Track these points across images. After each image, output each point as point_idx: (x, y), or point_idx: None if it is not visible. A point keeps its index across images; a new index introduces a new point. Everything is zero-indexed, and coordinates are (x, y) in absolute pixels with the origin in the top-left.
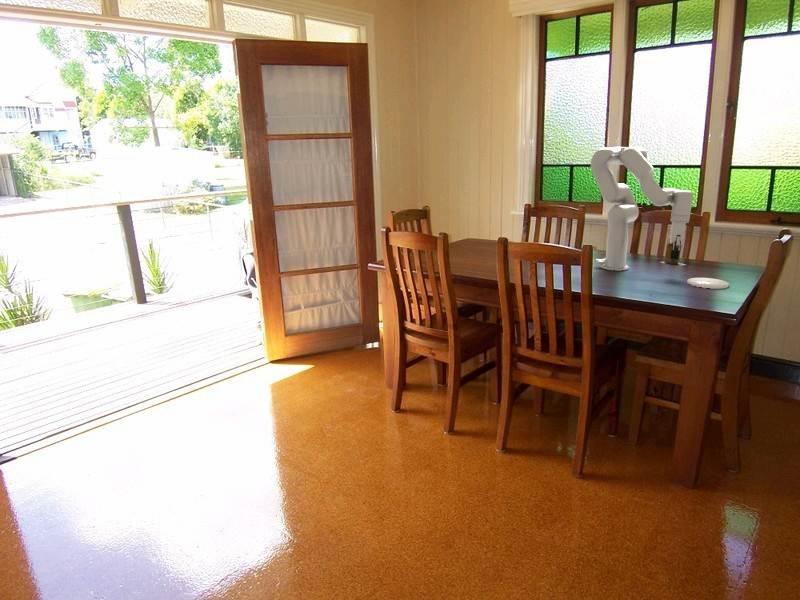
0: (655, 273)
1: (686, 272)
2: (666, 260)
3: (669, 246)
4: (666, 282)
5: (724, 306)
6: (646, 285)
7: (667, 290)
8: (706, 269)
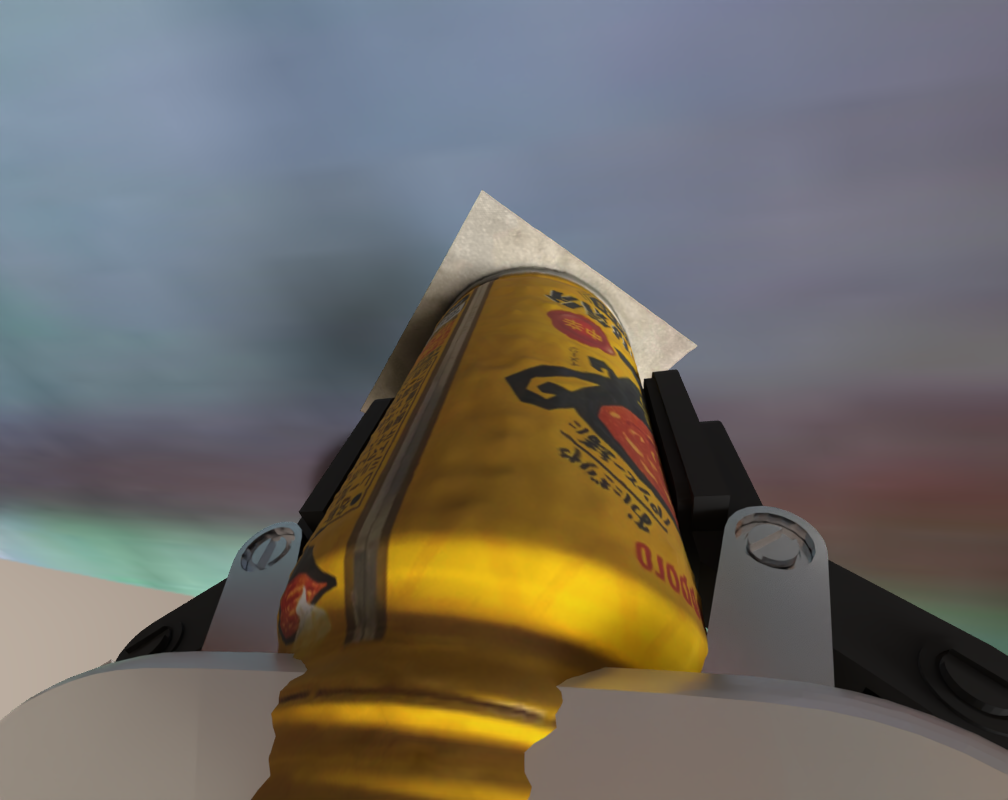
0: (713, 113)
1: (822, 421)
2: (445, 318)
3: (318, 531)
4: (327, 279)
5: (58, 546)
6: (65, 96)
7: (79, 305)
8: (967, 547)
